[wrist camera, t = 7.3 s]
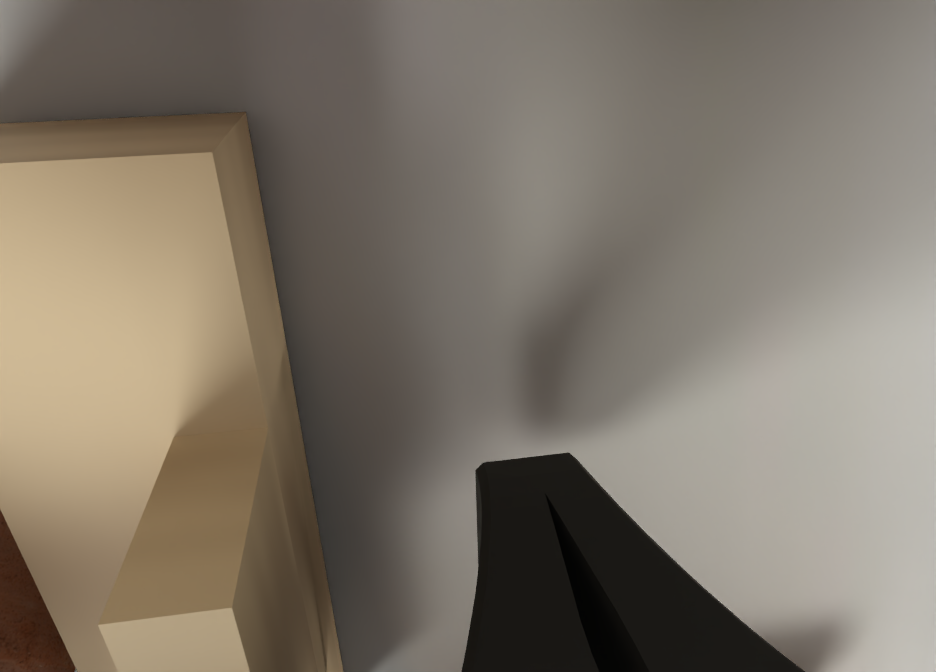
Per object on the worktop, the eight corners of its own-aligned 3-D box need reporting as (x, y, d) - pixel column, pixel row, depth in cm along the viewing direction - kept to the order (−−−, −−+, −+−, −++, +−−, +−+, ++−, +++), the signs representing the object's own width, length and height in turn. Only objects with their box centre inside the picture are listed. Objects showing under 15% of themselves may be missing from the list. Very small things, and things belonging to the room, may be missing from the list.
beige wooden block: (348, 701, 13) (344, 1007, 9) (188, 725, 13) (112, 1054, 9) (245, 112, 8) (131, 248, 4) (-36, 125, 7) (-475, 291, 3)
